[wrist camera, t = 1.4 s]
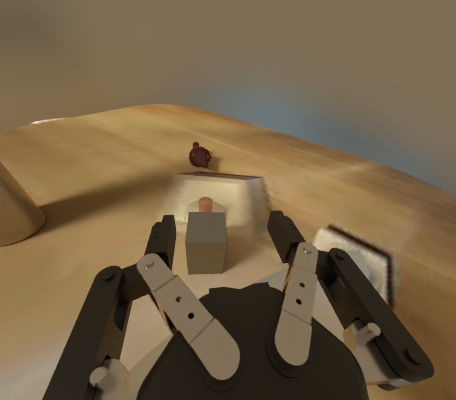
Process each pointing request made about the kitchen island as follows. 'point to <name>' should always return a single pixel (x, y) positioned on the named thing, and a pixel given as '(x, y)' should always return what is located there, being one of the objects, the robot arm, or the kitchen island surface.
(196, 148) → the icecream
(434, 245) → the kitchen island surface
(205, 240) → the grey block
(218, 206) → the saucer
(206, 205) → the peach dome knob
